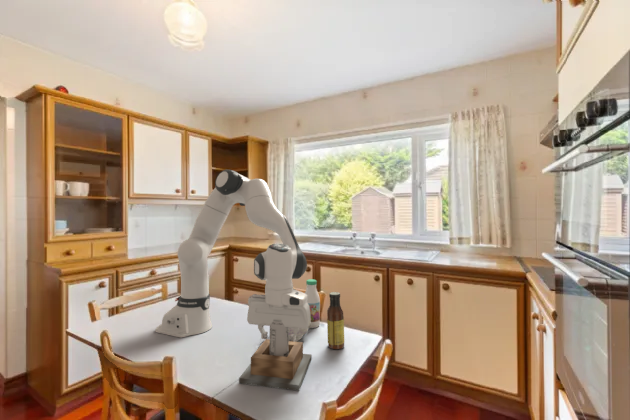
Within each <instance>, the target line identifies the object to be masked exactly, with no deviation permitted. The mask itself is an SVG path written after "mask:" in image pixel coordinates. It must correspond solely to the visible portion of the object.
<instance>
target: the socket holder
mask: <svg viewBox="0 0 630 420" xmlns="http://www.w3.org/2000/svg"><path fill="white" fill-rule="evenodd" d="M269 346H270V338H266V339H264V341H263V342H262V343H261V344H260V346H259V347H258V348H257V349H256V350H255V352H254V353H253V354H252V355H251V356H250V363H249V365H248V366H247V367H246V368H245V370H244V371H243V372H242V373H241V375H240V376H239V377H238V383H239V384H243V385H250V386H257V387H258V386H259V387H266V388H267V387H268V388H272V389H273V388H274V389H282V390H291V391H298V392H299V391H300V389H301V387H302V385H303V383H304V378H305V377H306V374H307V371H308V369H309V367H310V365H311V361H312V359H313V358H312V356H313V355H312V354H310V353H309V354H308V353H304V342H302V341H295V342H291V341H289V352H288V356H287V357H283V356H274V355H269Z"/></svg>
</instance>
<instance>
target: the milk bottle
mask: <svg viewBox="0 0 630 420" xmlns="http://www.w3.org/2000/svg"><path fill="white" fill-rule="evenodd" d="M305 282H306V288H305V292H304V293H305V294H307V301H306V302H307V303H308V305H309V307H310V315H311V323H310V325H309V327H308V329H317V328H318V327H320V324H321V323H320V322H321V319H320V318H321V316H320V315H321V314H320V313H321V312H320V311H321V299H320V295H319V292H318V289H317V282H318V281H317V280H316V279H312V278H311V279H307V280H306V281H305Z"/></svg>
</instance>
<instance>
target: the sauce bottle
mask: <svg viewBox="0 0 630 420" xmlns="http://www.w3.org/2000/svg"><path fill="white" fill-rule="evenodd" d="M328 296H329V307H328V308H327V311H326V312H327V313H326V314H327V319H326V321H327V324H326V325H327V344H328V347H329V348H330V349H333V350H341V349H343V348H344V346H345V323H344V322H345V319H344V318H345V317H344V311H343V309H342V307H341V306H342V305H341V300H340V299H341V293H340V292H338V291H337V292H336V291H332V292H329V294H328Z"/></svg>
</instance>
